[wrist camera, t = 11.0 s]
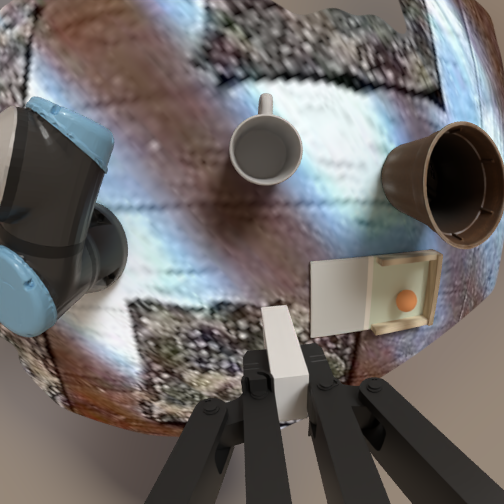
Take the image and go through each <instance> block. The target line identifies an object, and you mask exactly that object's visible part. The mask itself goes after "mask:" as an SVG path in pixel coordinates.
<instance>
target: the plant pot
mask: <svg viewBox="0 0 504 504" xmlns="http://www.w3.org/2000/svg"><path fill="white" fill-rule="evenodd" d="M430 165H432V168H433V171H434V176H435V178H434V179H433V177H432V171H431V169H430ZM382 184H383V189H384V192H385V195H386V197H387V199H388V200H389V202H390V203H391V204H392V206H393V207H395V208H396V209H397V210H399V211H400V212H402V213H404V214H406V215H408V216H410V217H412V218H414V219H416V220H418V221H420V222H422V223H424V224H426V225H427V226H428V227H429V228H430V229H432V230H433V231H434V232H436V233H437V234H438V235H439V236H440V237H441V238H442V239H443V240H444V241H445V242H447V243H448V244H450V245H451V246H453V247H456V248H459V249H471V248H474V247H477V246H479V245H480V244H482V243H483V242H485V241H486V240H487V239H488V238H489V237H490V236H491V235H492V233H493V232H494V231H495V229H496V227H497V226H498V224H499V222H500V220H501V217H502V214H503V211H504V164H503V161H502V158H501V155H500V153H499V151H498V149H497V147H496V145H495V143H494V142H493V140H492V139H491V138H490V136H489V135H488V134H487V133H486V132H485V131H484V130H482V129H481V128H480V127H478V126H477V125H475V124H472V123H469V122H464V121H460V122H454V123H451V124H449V125H447V126H445V127H444V128H442V129H441V130H440V131H437V132H435V133H433V134H432V135H430V136H429V137H425V138H422V139H419V140H416V141H413V142H409V143H406V144H402V145H400V146H398V147H396V148H394V149H393V150H392V151H391V152H390V153H389V154H388V156H387V160H386V162H385V164H384V166H383V169H382Z"/></svg>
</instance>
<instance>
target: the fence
mask: <svg viewBox="0 0 504 504" xmlns="http://www.w3.org/2000/svg"><path fill="white" fill-rule="evenodd" d="M411 252H412V253H411ZM411 252H404V253H403V252H402V254H400V253H399V254H398V253H396V254H395V253H393V254H394V255H385V254H384V256H377V255H376V262H377V263H378V264H379V265H381V266H390V265H399V264H407V263H415V262H423V261H429V268H428V277H427V285H426V293H425V299H424V306H423V312H422V315H417V316H413V317H408V318H403V319H398V320H392V321H387V322H382V323H376V324H371V330H372V331H373V333H374V334H375V335H380V334H386V333H391V332H395V331H400V330H405V329H410V328H414V327H419V326H423V325H428V326H429V325H432V324H433V319H434V314H435V309H436V303H437V297H438V290H439V284H440V276H441V268H442V259H443V254H441V253H439V252H437V251H435V250H433V249H430V250H421V251H411Z"/></svg>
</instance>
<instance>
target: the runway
mask: <svg viewBox="0 0 504 504" xmlns="http://www.w3.org/2000/svg"><path fill="white" fill-rule="evenodd" d="M403 253H404V252H403ZM411 253H412V252H411ZM395 254H396V253H395ZM398 254H399V253H398ZM400 254H402V253H400ZM385 255H394V254H385ZM377 256H384V254H383V255H377ZM428 268H429V261H423V262H415V263H407V264H399V265H390V266H381V265H379V264H378V263H377V262H376V255H373V256H363V257H353V258H343V259H333V260H322V261H312V262H310V297H311V321H310V337H311V338H315V337H323V336H330V335H337V334H343V333H350V332H356V331H362V330H368V329H371V324H376V323H382V322H387V321H392V320H398V319H403V318H408V317H413V316H417V315H422V312H423V306H424V299H425V293H426V285H427V277H428ZM403 290H411V291H413V292H414V293H415V295H416V297H417V304H416V306H415V308H414V309H413V310H412V311H409V312H403V311H401V310H399V309H398V307H397V305H396V298H397V295H398V294H399V293H400V292H401V291H403Z"/></svg>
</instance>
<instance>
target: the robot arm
mask: <svg viewBox="0 0 504 504" xmlns="http://www.w3.org/2000/svg"><path fill="white" fill-rule="evenodd" d="M113 146H114V138H113V135H112V133H111V132H110V131H109V130H108V129H107V128H105V127H104V126H102V125H100V124H98V123H97V122H95V121H93V120H91V119H89V118H87V117H85V116H82V115H80V114H78V113H76V112H74V111H71V110H69V109H67V108H64V107H61V106H59V105H57V104H54V103H52V102H50V101H48V100H45V99H42V98H39V97H32V98H31V99H30V100H29V102H27V104H26V108H20V107H15V106H10V107H9V108H7V109H6V110H4V111H3V112H2V113H0V322H1V323H2V324H3V325H4V326H5V327H6V328H7V329H9V330H10V331H12V332H13V333H15V334H17V335H20V336H23V337H34V336H38V335H40V334H42V333H43V332H44V331H46V330H47V329H48V328H51V327H52V326H53V325H54V324H55V322H56V321H57V320H58V319H59V318H60V317H61V316H62V315H63V314H64V313H65V312H66V311H67V310H68V309H69V308H70V307H71V306H72V305H73V304H74V303H76V302H77V301H78V300H79V299H80V298H81V297H82V296H83V295H84V294H86V293H91V292H96V291H100V290H103V289H105V288H107V287H108V286H110V285H111V284H112V283H113V282H114V281H115V280H116V279H117V278H118V277H119V276H120V275H121V273H122V272H123V270H124V268H125V265H126V261H127V256H128V245H127V239H126V235H125V232H124V229H123V227H122V225H121V223H120V222H119V220H118V219H117V217H116V216H115V215H114V214H113V213H112V212H111V211H110V210H109V209H107V208H106V207H104V206H102V205H101V204H98V203H96V199H97V196H98V193H99V190H100V186H101V183H102V180H103V177H104V174H107V171H108V168H107V165H108V162H109V159H110V156H111V153H112V150H113ZM261 310H262V323H263V336H264V348H265V350H254V351H247V352H246V354H245V355H244V357H243V369H244V370H243V371H244V376H243V377H242V379H241V384H242V392H243V393H242V395H241V396H240V397H239V398H237V399H235V400H233V401H230V402H227V403H225V402H224V401H222V400H220V399H217V398H208V399H204V400H202V401H200V402H199V403H198V404H197V405H196V406H195V408H194V410H193V412H192V414H191V416H190V418H189V420H188V422H187V424H186V426H185V428H184V430H183V431H182V433H181V435H180V437H179V439H178V441H177V443H176V445H175V447H174V449H173V451H172V452H171V454H170V456H169V458H168V460H167V462H166V464H165V466H164V468H163V470H162V471H161V473H160V475H159V477H158V479H157V481H156V483H155V484H154V486H153V488H152V490H151V492H150V494H149V496H148V498H147V499H146V501H145V503H144V504H215V501H216V499H217V496H218V493H219V490H220V487H221V485H222V482H223V479H224V476H225V473H226V470H227V467H228V465H229V461H230V459H231V456H232V453H233V450H234V446H235V445H238V444H241V443H244V447H245V448H244V449H245V478H246V479H245V480H246V504H292V501H291V495H290V489H289V482H288V475H287V469H286V462H285V456H284V449H283V443H282V436H281V430H280V423H279V422H280V421H289V420H297V419H304V418H307V412H308V416H309V431H308V436H311V437H312V441H313V445H314V449H315V453H316V457H317V462H318V466H319V470H320V474H321V478H322V482H323V486H324V491H325V494H326V499H327V503H328V504H390V501H389V499H388V496H387V493H386V491H385V488H384V486H383V483H382V481H381V478H380V475H379V473H378V470H377V468H376V465H375V463H374V461H373V458H372V456H371V454H372V455H373V456H374V457H375V459H376V460H377V461H378V462H379V464H380V465H381V466H382V467H383V469H384V470H385V471H386V472H387V473H388V475H389V476H390V477H391V478H392V480H393V481H394V482H395V483H396V484H397V486H398V487H399V488H400V489H401V490H402V492H403V493H404V494H405V495H406V497H407V498H408V499H409V500H410V501H411V502H412V504H504V490H503V489H502V488H501V487H500V486H499V485H498V484H496V483H495V482H494V481H493V480H492V479H491V478H490V477H489V476H488V475H487V474H486V473H484V472H483V471H482V470H481V469H480V468H479V467H478V466H477V465H476V464H475V463H474V462H473V461H471V459H469V458H468V457H467V456H466V455H465V454H464V453H463V452H462V451H461V450H460V449H459V448H458V447H456V446H455V445H454V444H453V443H452V442H451V441H450V440H449V439H448V438H447V437H445V435H444V434H442V433H441V432H440V431H439V430H438V429H437V428H436V427H435V426H434V425H433V424H432V423H431V422H429V421H428V420H427V419H426V418H425V417H424V416H423V415H422V414H421V413H420V412H419V411H418V410H417V409H416V408H414V407H413V406H412V405H411V404H410V403H409V402H408V401H407V400H406V399H405V398H404V397H403V396H402V395H400V394H399V393H398V392H397V391H396V390H395V389H394V388H393V387H392V386H391V385H389V383H388V382H386V381H385V380H383V379H381V378H368V379H365V380H364V381H362V383H361V384H360V386H348V385H344V384H341V382H340V381H339V380H338V379H336V378H335V377H334V376H333V374H332V371H331V369H330V367H329V364H328V362H327V360H326V357H325V355H324V352H323V350H322V348H321V347H320V346H318V345H317V344H316V343H312V344H305V345H299V341H298V338H297V335H296V332H295V329H294V326H293V323H292V320H291V317H290V314H289V311H288V307H287V305H283V306H272V307H262V308H261ZM370 452H371V453H370Z"/></svg>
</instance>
